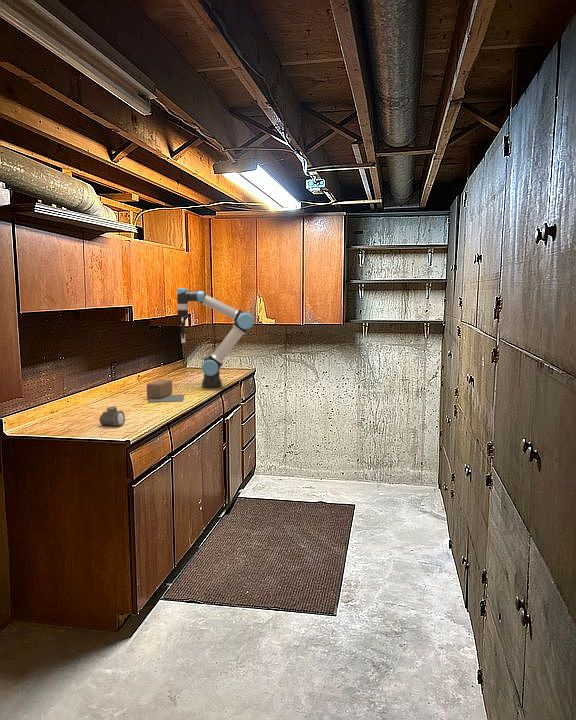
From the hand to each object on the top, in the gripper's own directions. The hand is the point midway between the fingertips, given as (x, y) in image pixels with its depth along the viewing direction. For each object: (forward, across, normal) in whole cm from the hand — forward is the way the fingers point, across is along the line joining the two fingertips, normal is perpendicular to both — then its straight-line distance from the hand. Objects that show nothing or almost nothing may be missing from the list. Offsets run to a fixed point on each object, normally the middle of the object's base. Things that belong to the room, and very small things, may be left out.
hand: (183, 342), depth 398 cm
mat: (+34, +35, -10) cm, 50 cm away
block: (+29, +19, -12) cm, 36 cm away
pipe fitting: (+35, +108, -33) cm, 118 cm away
